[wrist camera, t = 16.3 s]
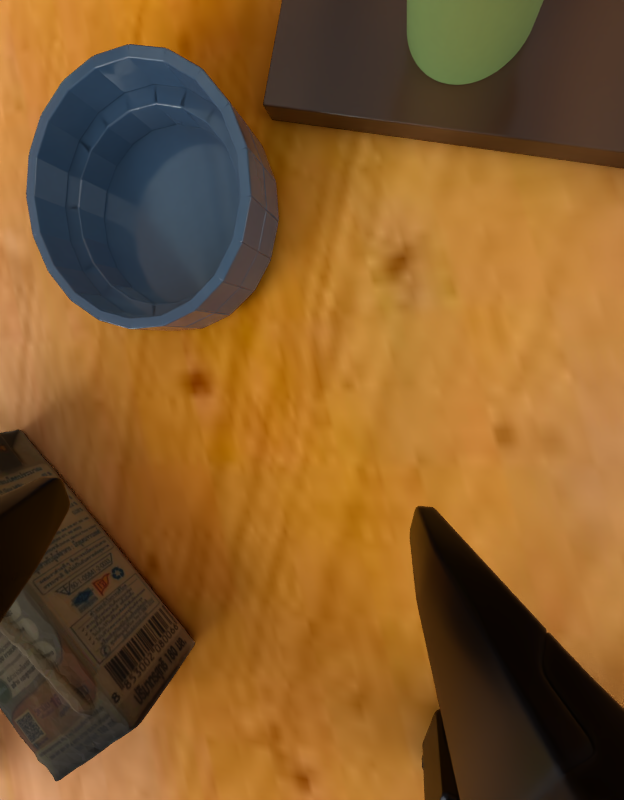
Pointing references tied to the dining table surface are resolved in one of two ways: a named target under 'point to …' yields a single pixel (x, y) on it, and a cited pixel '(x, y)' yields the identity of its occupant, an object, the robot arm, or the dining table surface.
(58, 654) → the beverage carton
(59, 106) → the bowl
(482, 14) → the broccoli
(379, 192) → the dining table surface
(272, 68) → the board
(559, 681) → the robot arm
